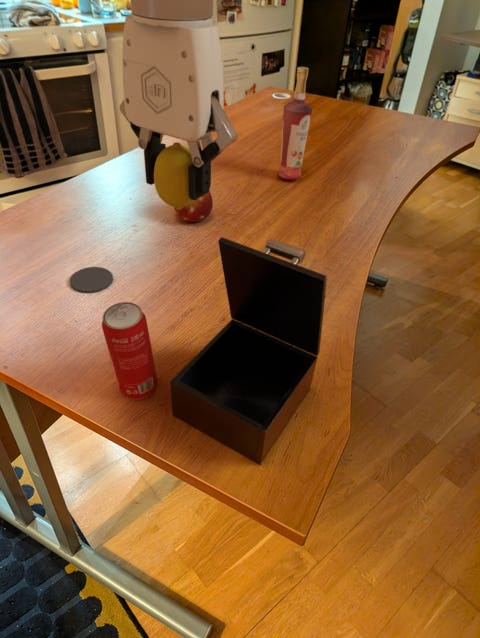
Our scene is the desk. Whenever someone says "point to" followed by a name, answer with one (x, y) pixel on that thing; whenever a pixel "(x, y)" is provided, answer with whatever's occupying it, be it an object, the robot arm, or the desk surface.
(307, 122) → the liquor
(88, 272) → the coaster
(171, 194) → the lemon
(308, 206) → the desk surface
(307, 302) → the lid
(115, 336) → the beverage can
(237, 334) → the black open square box
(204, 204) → the fruit
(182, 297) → the desk surface
